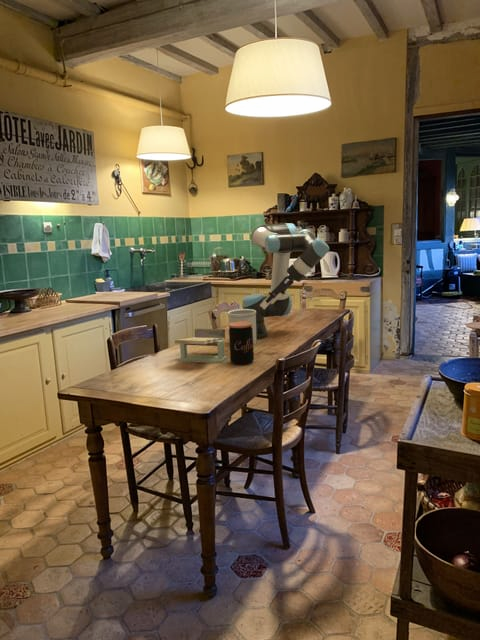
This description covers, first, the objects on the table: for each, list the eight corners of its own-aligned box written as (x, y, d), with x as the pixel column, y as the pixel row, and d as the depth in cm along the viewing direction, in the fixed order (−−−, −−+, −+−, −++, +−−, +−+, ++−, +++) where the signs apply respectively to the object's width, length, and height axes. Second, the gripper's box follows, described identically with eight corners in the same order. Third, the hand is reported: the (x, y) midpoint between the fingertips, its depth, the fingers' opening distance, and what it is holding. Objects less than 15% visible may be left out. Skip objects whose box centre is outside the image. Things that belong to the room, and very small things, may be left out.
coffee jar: (234, 366, 220) (231, 327, 216) (228, 360, 230) (226, 322, 226) (256, 363, 223) (255, 324, 219) (250, 357, 233) (248, 320, 229)
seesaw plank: (196, 343, 247) (196, 328, 247) (227, 344, 242) (227, 329, 242) (172, 347, 221) (173, 331, 221) (206, 348, 216) (206, 331, 216)
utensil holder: (255, 347, 251) (253, 313, 248) (226, 347, 254) (224, 314, 251) (259, 340, 266) (258, 308, 262) (232, 340, 269) (230, 309, 265)
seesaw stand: (184, 356, 241) (183, 337, 239) (227, 358, 234) (226, 338, 232) (177, 361, 233) (176, 341, 231) (221, 363, 226) (220, 342, 224)
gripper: (299, 279, 197) (264, 315, 205) (310, 272, 221) (279, 306, 228) (286, 266, 198) (252, 303, 206) (298, 261, 221) (267, 294, 229)
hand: (266, 304), depth 217 cm, fingers open, 13 cm apart
